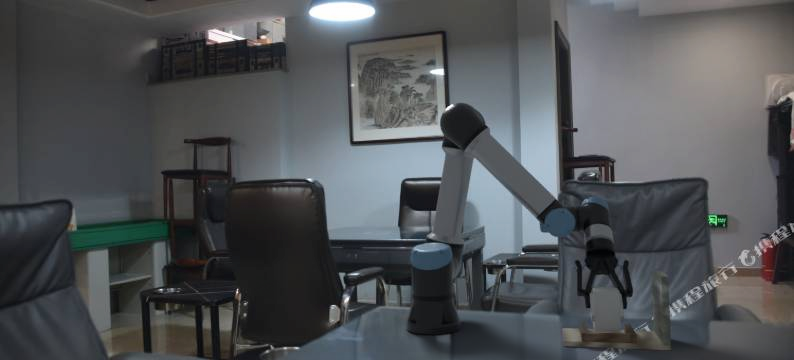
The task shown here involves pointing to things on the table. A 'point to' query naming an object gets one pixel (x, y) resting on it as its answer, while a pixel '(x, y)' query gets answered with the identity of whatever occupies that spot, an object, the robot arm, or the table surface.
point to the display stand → (628, 336)
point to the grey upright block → (606, 309)
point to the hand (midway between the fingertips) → (607, 318)
